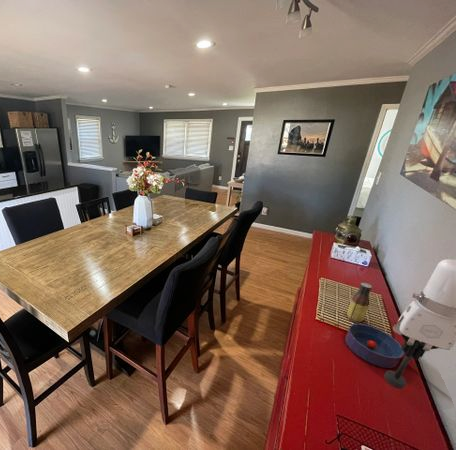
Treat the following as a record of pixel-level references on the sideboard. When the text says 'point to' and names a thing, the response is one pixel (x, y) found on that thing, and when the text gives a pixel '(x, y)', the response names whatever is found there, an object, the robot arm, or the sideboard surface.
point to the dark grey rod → (400, 370)
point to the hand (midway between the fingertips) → (409, 354)
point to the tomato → (371, 344)
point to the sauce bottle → (359, 303)
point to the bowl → (385, 350)
